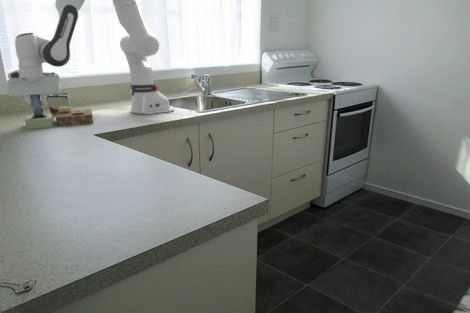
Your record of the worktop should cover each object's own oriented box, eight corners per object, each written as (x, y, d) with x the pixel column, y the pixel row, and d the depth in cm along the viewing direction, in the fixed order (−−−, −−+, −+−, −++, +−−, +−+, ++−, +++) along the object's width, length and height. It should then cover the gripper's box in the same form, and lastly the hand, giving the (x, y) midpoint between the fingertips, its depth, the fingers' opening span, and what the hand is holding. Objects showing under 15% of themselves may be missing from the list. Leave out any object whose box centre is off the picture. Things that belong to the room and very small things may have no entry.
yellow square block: (72, 116, 179) (70, 105, 177) (72, 118, 175) (70, 107, 173) (60, 117, 177) (59, 106, 176) (60, 119, 173) (58, 108, 171)
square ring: (53, 122, 172) (52, 113, 171) (52, 127, 163) (50, 118, 162) (29, 124, 169) (27, 115, 167) (26, 129, 160) (24, 120, 159)
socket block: (92, 117, 183) (91, 108, 182) (93, 123, 170) (92, 114, 169) (58, 119, 178) (57, 111, 177) (57, 126, 165) (55, 117, 164)
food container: (76, 111, 196) (74, 92, 193) (70, 114, 190) (68, 94, 187) (54, 111, 197) (51, 92, 194) (48, 113, 191) (44, 94, 188)
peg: (45, 119, 168) (40, 93, 164) (44, 121, 164) (39, 94, 160) (35, 120, 166) (30, 93, 163) (34, 122, 163) (29, 94, 159)
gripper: (58, 71, 165) (63, 102, 169) (5, 73, 158) (12, 105, 162) (58, 72, 160) (62, 104, 164) (3, 74, 152) (9, 108, 157)
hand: (37, 105), depth 163 cm, fingers closed on peg, 4 cm apart
